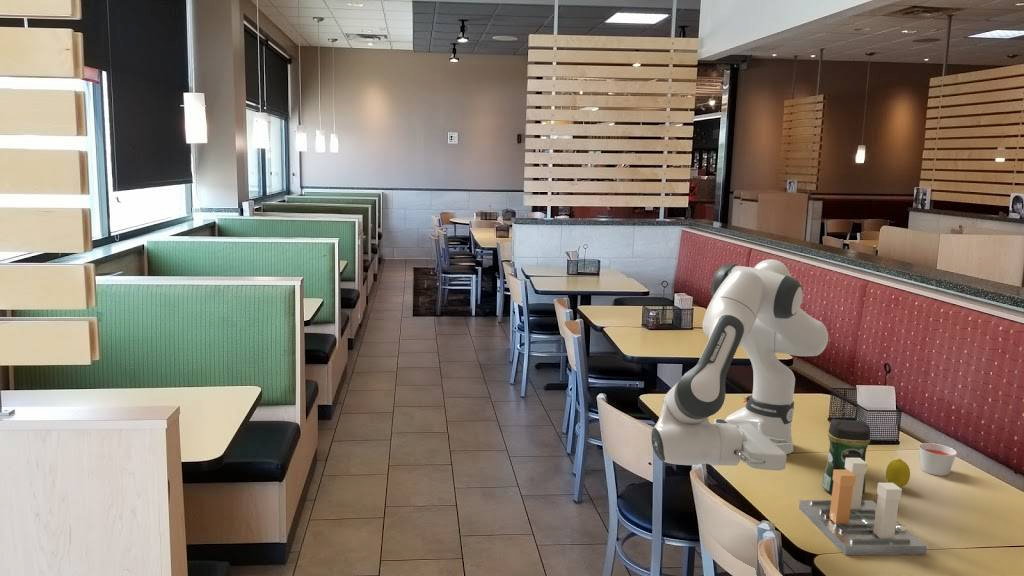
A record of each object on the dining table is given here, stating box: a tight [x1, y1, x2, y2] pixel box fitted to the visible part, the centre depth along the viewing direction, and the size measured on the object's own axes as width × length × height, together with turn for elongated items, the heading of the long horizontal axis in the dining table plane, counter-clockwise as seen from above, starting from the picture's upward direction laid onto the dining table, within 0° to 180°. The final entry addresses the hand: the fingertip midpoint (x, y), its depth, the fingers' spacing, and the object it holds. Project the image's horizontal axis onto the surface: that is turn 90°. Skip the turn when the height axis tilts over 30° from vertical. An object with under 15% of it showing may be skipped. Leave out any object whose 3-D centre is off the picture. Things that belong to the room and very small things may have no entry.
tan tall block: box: [829, 470, 856, 523], centre depth 177 cm, size 3×3×11 cm
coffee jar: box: [822, 418, 871, 496], centre depth 198 cm, size 10×8×19 cm
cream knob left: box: [845, 458, 868, 509], centre depth 184 cm, size 3×3×11 cm
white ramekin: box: [918, 442, 957, 477], centre depth 215 cm, size 9×9×6 cm
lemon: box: [885, 458, 911, 488], centre depth 202 cm, size 6×6×8 cm
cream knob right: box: [873, 482, 903, 539], centre depth 170 cm, size 3×3×11 cm
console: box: [798, 499, 928, 556], centre depth 178 cm, size 18×22×3 cm
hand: (788, 445), depth 173 cm, fingers closed
